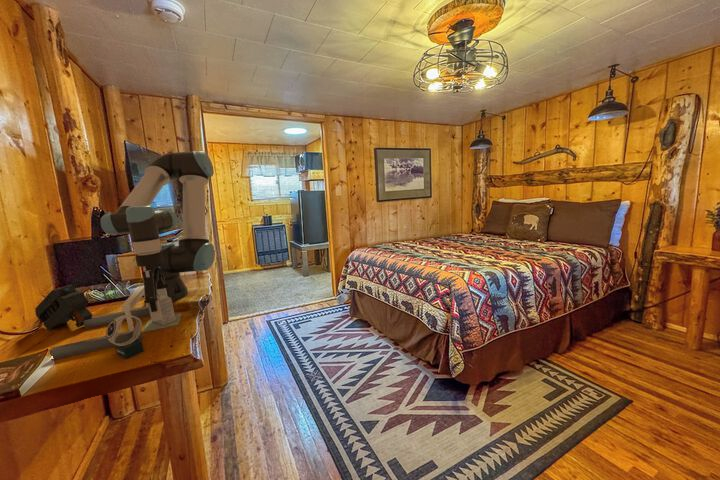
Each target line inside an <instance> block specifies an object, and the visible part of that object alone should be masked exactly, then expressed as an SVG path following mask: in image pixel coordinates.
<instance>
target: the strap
mask: <svg viewBox="0 0 720 480" xmlns="http://www.w3.org/2000/svg"><path fill="white" fill-rule="evenodd" d="M143 297H144V298H143ZM141 298H143V299H145V290H144V282H143V283H139V285H138V287H137V288H136V289H135V290H134V292H132V294H131V295H130V296H129V297H128V298H127V299H126V300H125V301H124V302H123V303H122V304H121V306H120V307H121V309H122V310H121V311H123V312H125V315H131V313H130V310H132V309H134V307H135V306H136V305H137V303H139V301H140V300H141ZM145 307H148V304H147V303H145ZM126 319H127V320H126V323H127V328H128V331H129V332H130V331H134V330H135V326H134V322H133V319H132V317H128V318H126Z"/></svg>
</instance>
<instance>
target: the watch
mask: <svg viewBox="0 0 720 480" xmlns="http://www.w3.org/2000/svg"><path fill="white" fill-rule="evenodd" d="M128 317H133V318H135V319H134V320H135V326H134V333H133V337H132V338H130V339H128V340H125V341H123V342H120V343H115V342H114V341H115V339H116V337H117V336H118V335H119V333H121V331H122V323H123V322H124V321H123V319H124V318H128ZM142 328H143V324H142V320H141V319H140V318H137V317H135V316H132V315H123V316H120V317H117V318H116V319H115V320H112V321H111V322H110V323H109V324H107V328H106V330H105V336H106V338H107V339H108V340H109V341H110V342H111V343H113V344H115V346H114V349H115V353H116V356H118V357H120V358H122V359H125V360H129V359H130V358H133V357H135V356H137V355H139V354H141V353H144V352H145V351H144V350H145V349H144V346H143V341H142V340H137V338H138V337H139V335H140V333H141V330H142ZM142 331H143V330H142Z"/></svg>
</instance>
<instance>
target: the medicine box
mask: <svg viewBox="0 0 720 480" xmlns="http://www.w3.org/2000/svg"><path fill="white" fill-rule="evenodd" d="M151 298H153V297H151ZM157 300H158V301H159V305H160V310H161V315H162V320H157V321H152V319H151V315H150V317H149V318H150V320H151V321H152V322H154V323H157V324H160V325H166V324H169V323H171V322H173V321H175V320H176V318H175V309H174V304H173V301H172V300H171V298H170V297H167V296H163V295H157ZM147 304H148V303H147ZM148 308H149V305H148ZM149 312H150V310H149Z"/></svg>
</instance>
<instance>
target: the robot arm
mask: <svg viewBox="0 0 720 480" xmlns="http://www.w3.org/2000/svg"><path fill="white" fill-rule="evenodd" d="M143 173H144V175H143V176H142V178H141V179H140V180H139V181H138V183H137V184H136V185H135V187H134V188H133V189H132V190H131V192H130V193H129V194H128V195H127V196H126V198H125V199H124V201H123V202H122V203H121V205H120V206H119V207H118V209H117V210H116V211H115V212H110V213H105V214H104V215H102V216H101V218H100V226H101V229H102V230H103V231H104V233H106V234H108V235H126V234H127V235H128V234H130V238H131V242H132V244H130V247H131V248H133V252H134V255H135V254H136V255H135V256H134V258H135V263H136V266H138V267H142V268H143V267H144V268H145V270H144V271H142V278H143V283H144V290H145V298H144V302H143V304H146V303H148V305H149V310H150V315H151V317H150V320H151V319H152V321H157V320H162V315H161V310H160V305H159V301H158V300H157V295H163V296H167V297H170V298H171V300H172V302H173V301H175V300H179V299H181V298H183V297H185V296H187V295H188V294H189V290H188V286H187V285H186V284H185V282H184V280H183V278H182V277H181V273H191V272H192V273H193V272H202V271H207V270H209V269H211V268H212V266H213V264H214V262H215V257H216V250H215V246H214V245H213V244H212V243H210V239H209V238H208V237H207V236H206V190H205V189H206V185H207V184H209V178H212V177H213V176H214V167H213V163H212V160H211V158H210V157H209V155H208V153H206V152H205V151H202V150H201V151H200V150H198V151H197V150H192V151H177V152H168V153H165V154H162V155H161V156H159V157H157V158H155V159H154V160H153V161H152V162H150V163H149V164H148V165H147V166H146V168H145V169H144V172H143ZM174 180H178V181H179V182H180V183H181V184H182V236H181V237H180V238H179V239H178V245H176V244H175V243H174V242H166V243H161V238H160V234H159V232H162V231H168V230H170V229H173V228H174V227H176V226H177V223H178V216H177V214H176V212H174V211H173V210H171V209H169V208H168V209H167V208H160V209H154V207H153V206H152V204H153V202H154V200H155V199H156V198H157V196H158V195H159V193H160V191H161V190H162V188H163V187H164V186H166V185H169V183H170V182H171V181H174ZM151 297H153V298H151Z"/></svg>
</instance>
